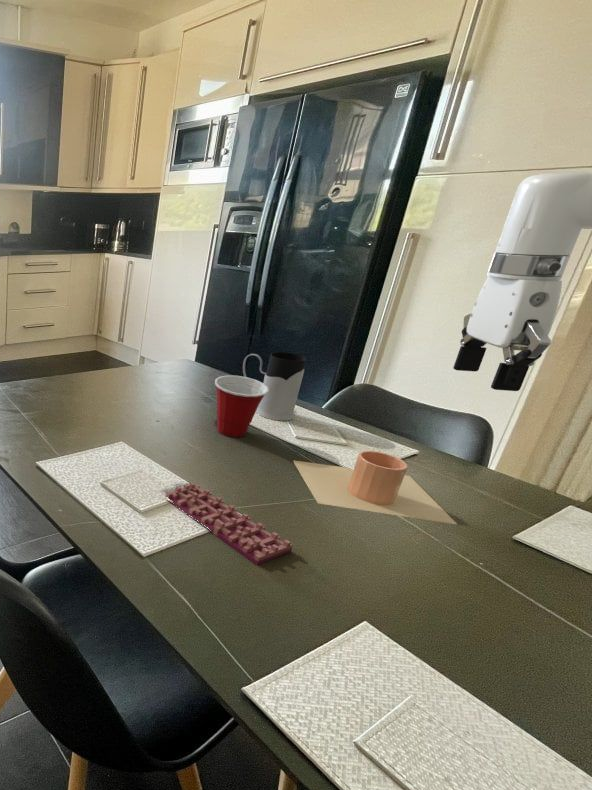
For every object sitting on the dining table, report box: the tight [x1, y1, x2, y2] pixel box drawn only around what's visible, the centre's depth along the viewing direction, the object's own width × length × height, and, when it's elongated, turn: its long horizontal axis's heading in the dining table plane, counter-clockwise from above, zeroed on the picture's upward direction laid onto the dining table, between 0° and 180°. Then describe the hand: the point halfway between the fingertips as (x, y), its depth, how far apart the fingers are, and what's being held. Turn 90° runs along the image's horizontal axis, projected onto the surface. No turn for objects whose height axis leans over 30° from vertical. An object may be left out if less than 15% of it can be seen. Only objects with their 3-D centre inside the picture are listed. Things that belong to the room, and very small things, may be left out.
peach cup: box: [348, 450, 408, 505], centre depth 86 cm, size 7×7×7 cm
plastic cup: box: [214, 375, 269, 438], centre depth 109 cm, size 11×11×12 cm
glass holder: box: [242, 351, 307, 422], centre depth 121 cm, size 9×14×15 cm, turn 39°
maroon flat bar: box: [165, 482, 294, 566], centre depth 78 cm, size 7×19×2 cm, turn 24°
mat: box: [292, 460, 458, 525], centre depth 87 cm, size 20×20×1 cm
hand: (483, 379), depth 76 cm, fingers open, 9 cm apart
